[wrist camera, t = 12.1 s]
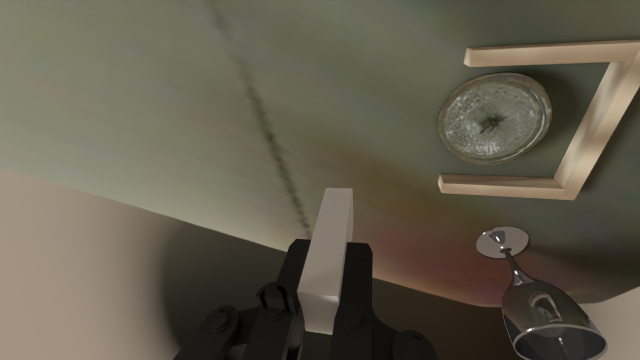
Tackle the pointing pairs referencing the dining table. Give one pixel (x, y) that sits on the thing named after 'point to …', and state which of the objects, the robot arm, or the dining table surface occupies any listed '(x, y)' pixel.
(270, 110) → the dining table surface
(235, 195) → the dining table surface
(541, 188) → the wooden u-shaped frame
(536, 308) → the wine glass
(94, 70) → the dining table surface
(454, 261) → the dining table surface
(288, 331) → the robot arm
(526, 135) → the lid
